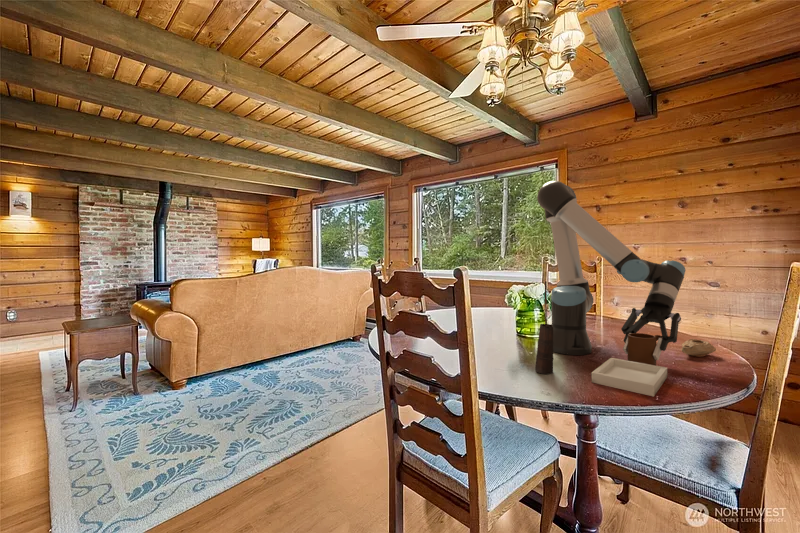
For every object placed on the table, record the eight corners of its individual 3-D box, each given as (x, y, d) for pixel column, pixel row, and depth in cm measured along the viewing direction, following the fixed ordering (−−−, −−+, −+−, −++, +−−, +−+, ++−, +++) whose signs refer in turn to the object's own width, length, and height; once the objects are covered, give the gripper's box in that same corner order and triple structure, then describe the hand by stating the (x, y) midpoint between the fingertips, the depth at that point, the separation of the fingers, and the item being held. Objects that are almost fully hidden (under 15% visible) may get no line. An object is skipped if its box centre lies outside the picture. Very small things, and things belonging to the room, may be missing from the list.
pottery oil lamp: (669, 354, 121) (667, 334, 124) (694, 362, 124) (691, 342, 127) (697, 351, 113) (694, 330, 116) (723, 360, 116) (719, 339, 119)
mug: (653, 359, 117) (653, 331, 116) (674, 366, 109) (675, 336, 109) (621, 361, 115) (621, 333, 114) (641, 369, 107) (641, 339, 107)
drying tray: (591, 382, 98) (591, 372, 98) (610, 366, 111) (610, 357, 111) (653, 396, 88) (653, 385, 88) (667, 377, 101) (667, 367, 101)
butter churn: (559, 380, 100) (559, 283, 99) (525, 374, 106) (524, 282, 104) (564, 370, 108) (563, 281, 107) (532, 366, 113) (531, 280, 112)
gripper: (702, 309, 112) (682, 369, 104) (631, 302, 129) (609, 353, 121) (696, 294, 109) (676, 355, 101) (624, 289, 126) (602, 341, 118)
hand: (640, 354), depth 111 cm, fingers closed on mug, 8 cm apart
